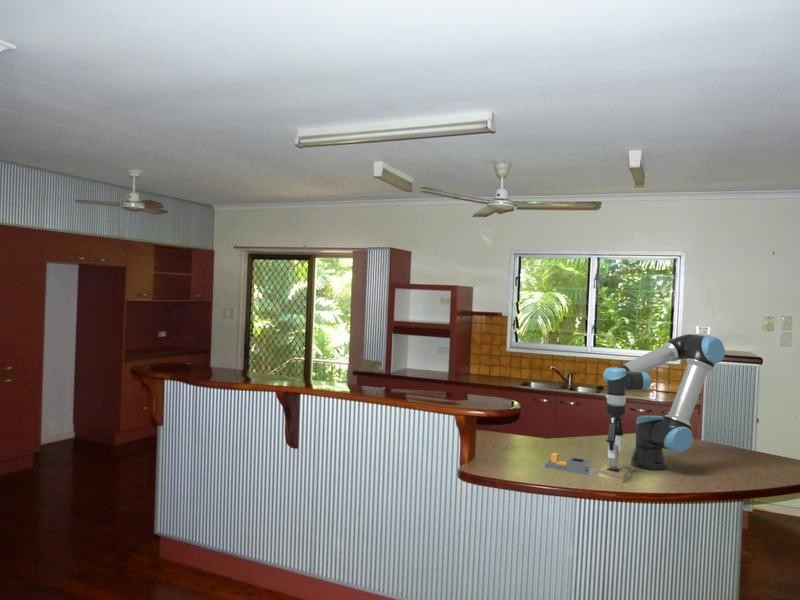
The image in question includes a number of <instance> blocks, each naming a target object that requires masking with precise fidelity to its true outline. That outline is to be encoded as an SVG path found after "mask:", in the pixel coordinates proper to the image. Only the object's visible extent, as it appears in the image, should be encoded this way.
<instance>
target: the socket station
mask: <svg viewBox="0 0 800 600" xmlns="http://www.w3.org/2000/svg"><path fill="white" fill-rule="evenodd" d="M565 462H566V466H564V465H558V464H551V459H550V460H547V461H545V462H544V463H543V464H542V465H540V466H539V468H544V469H548V470H549V469H550V470H554V471H555V470H556V471H561V472H568V473H573V474H574V473H575V474H579V475H586V476H592V475H593V474H594V473H595V472H596V471H597V468H594V467H590V459H588V458H581V457H575V456H570V457H569V458H568V459H566V461H565Z"/></svg>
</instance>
